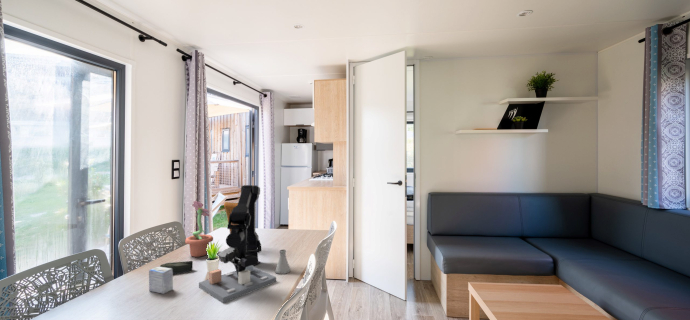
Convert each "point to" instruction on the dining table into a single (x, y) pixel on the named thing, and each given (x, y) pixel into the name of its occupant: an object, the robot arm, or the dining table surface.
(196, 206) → the decorative flower
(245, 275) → the ivory cuboid
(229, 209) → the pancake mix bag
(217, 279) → the salmon pink cuboid
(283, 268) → the flask
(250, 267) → the grey small block
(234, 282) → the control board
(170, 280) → the medicine box
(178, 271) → the dark green block
